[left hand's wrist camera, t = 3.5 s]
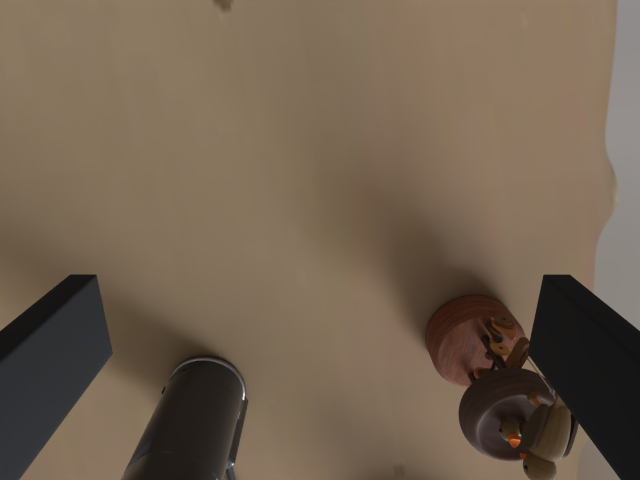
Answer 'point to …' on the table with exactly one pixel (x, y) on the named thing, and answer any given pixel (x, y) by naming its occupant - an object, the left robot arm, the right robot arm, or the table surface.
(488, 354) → the music box
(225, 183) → the table surface
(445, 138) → the table surface
